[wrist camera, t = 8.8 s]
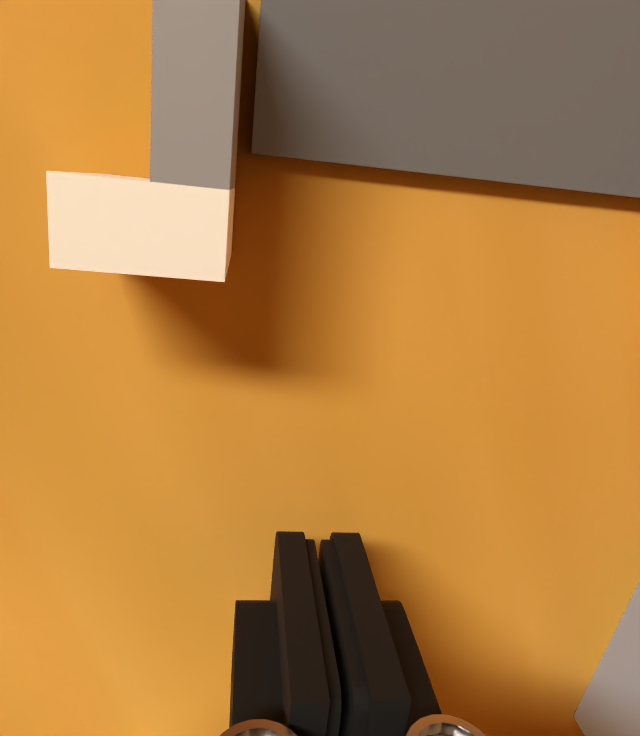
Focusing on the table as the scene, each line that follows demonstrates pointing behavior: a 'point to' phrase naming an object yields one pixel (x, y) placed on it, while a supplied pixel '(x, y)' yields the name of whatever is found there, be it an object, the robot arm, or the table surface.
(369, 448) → the table surface
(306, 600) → the robot arm
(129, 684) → the table surface
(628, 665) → the block
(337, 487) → the table surface
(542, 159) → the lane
